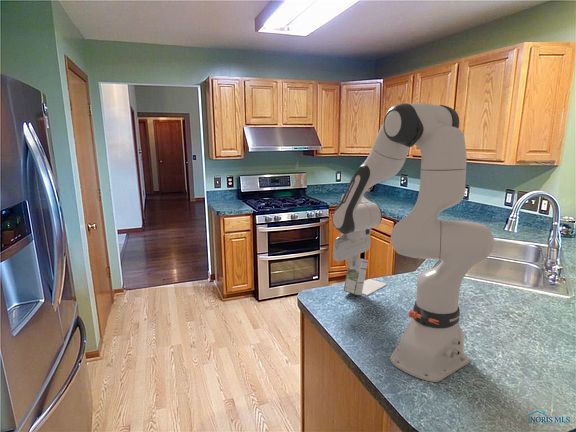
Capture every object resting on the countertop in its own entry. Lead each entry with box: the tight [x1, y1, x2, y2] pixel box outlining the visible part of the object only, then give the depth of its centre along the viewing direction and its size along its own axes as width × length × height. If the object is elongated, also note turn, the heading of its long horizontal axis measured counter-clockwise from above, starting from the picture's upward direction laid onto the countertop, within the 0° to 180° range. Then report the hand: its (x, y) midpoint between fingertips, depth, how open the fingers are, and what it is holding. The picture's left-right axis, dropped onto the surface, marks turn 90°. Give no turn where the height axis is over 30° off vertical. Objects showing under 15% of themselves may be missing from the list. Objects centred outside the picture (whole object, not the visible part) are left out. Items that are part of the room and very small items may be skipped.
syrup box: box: [343, 257, 369, 296], centre depth 140 cm, size 6×6×14 cm
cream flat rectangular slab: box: [362, 278, 388, 296], centre depth 147 cm, size 15×9×1 cm, turn 133°
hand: (352, 265), depth 137 cm, fingers closed
